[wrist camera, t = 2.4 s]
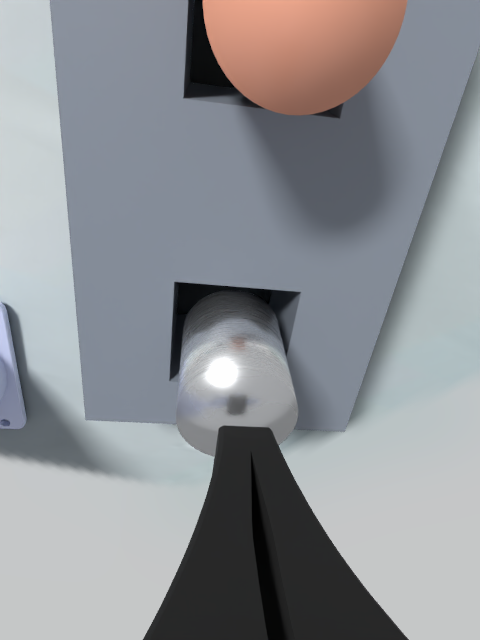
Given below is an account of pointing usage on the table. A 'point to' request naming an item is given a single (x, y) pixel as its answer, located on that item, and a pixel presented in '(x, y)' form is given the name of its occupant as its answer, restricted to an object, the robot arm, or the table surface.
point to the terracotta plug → (302, 48)
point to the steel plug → (233, 370)
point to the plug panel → (240, 198)
